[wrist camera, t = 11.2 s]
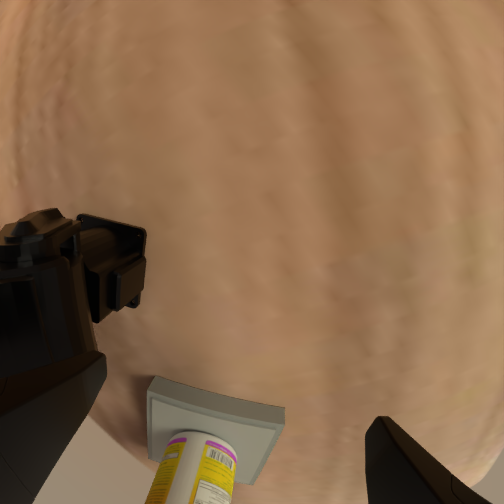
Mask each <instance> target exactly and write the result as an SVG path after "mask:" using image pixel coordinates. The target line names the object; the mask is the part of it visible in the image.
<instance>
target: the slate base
mask: <svg viewBox="0 0 504 504" xmlns="http://www.w3.org/2000/svg"><path fill="white" fill-rule="evenodd" d="M284 426H285V408H282V407H276V406H271V405H265V404H260V403H255V402H250V401H246V400H241V399H237V398H232V397H228V396H224V395H220V394H216V393H212V392H208V391H205V390H201V389H197V388H194V387H190V386H187V385H184V384H180V383H177V382H174V381H171V380H167V379H164V378H161V377H158V376H155V377H154V379H153V381H152V382H151V384H150V386H149V387H148V389H147V440H148V459H151V460H154V461H156V462H159V463H161V460H162V457H163V455H164V452H165V450H166V447H167V445H168V442H169V441H170V439H171V438H172V437H173V436H174V435H176V434H178V433H182V432H201V433H206V434H210V435H213V436H216V437H218V438H220V439H222V440H224V441H225V442H227V443H228V444H229V445H230V446H231V447H232V448H233V449H234V451H235V452H236V455H237V465H236V471H235V478H234V482H237V483H242V484H248V485H254V483H255V481H256V479H257V478H258V476H259V474H260V472H261V470H262V468H263V467H264V465H265V463H266V461H267V459H268V457H269V455H270V453H271V452H272V450H273V448H274V446H275V444H276V442H277V440H278V438H279V436H280V434H281V432H282V430H283V428H284Z"/></svg>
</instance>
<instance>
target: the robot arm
mask: <svg viewBox="0 0 504 504" xmlns="http://www.w3.org/2000/svg"><path fill="white" fill-rule="evenodd" d="M82 218H83V222H82V220H81V219H82ZM138 232H140V233H141V238H140V237H139V236H138ZM146 237H147V233H146V230H145V229H144V228H141V227H137V226H133V225H129V224H125V223H121V222H117V221H113V220H109V219H104V218H100V217H96V216H92V215H88V214H79V215H78V216H77V219H76V221H74V220H72V219H66V218H65V217H63V216H62V214H61V213H60V211H59V210H58V208H50V209H45V210H40V211H36V212H32V213H30V214H28V215H27V216H25V217H24V218H22V219H19V220H18V221H17V222H15V223H10V224H6V225H5V226H4V227H3V228H2V230H1V231H0V504H32V503H33V502H34V500H35V498H36V496H37V494H38V493H39V491H40V489H41V487H42V486H43V484H44V483H45V481H46V479H47V478H48V476H49V474H50V472H51V471H52V469H53V468H54V466H55V464H56V463H57V461H58V460H59V458H60V456H61V455H62V453H63V452H64V450H65V448H66V447H67V445H68V444H69V442H70V441H71V439H72V437H73V436H74V434H75V433H76V431H77V430H78V428H79V427H80V425H81V424H82V422H83V421H84V419H85V418H86V416H87V414H88V413H89V411H90V409H91V407H92V405H93V403H94V401H95V399H96V397H97V395H98V393H99V391H100V389H101V387H102V385H103V383H104V381H105V379H106V377H107V365H106V356H105V354H103V353H101V352H99V351H98V348H97V344H96V339H95V335H94V330H93V324H92V322H94V323H99V322H100V321H102V320H103V319H104V318H105V317H106V316H107V315H108V314H110V313H111V312H112V311H113V310H114V311H116V312H117V311H119V310H121V309H122V308H123V307H124V306H127V307H130V308H136V307H137V306H138V305H139V304H140V295H141V291H142V290H143V289H144V278H145V268H146V258H145V256H144V253H145V245H146ZM132 300H134V301H135V304H134V303H133V302H132ZM365 474H366V484H367V494H368V504H492V503H490V502H489V501H487V500H486V499H484V498H483V497H481V496H480V495H479V494H477V493H476V492H474V491H473V490H471V489H470V488H469V487H467V486H466V485H465V484H464V483H463V482H461V481H460V480H459V479H458V478H457V477H456V476H454V475H453V474H451V472H450V471H449V470H447V469H446V468H445V467H444V466H443V465H442V464H441V463H440V462H438V461H437V460H436V459H435V458H434V457H433V456H432V455H431V454H430V453H428V452H427V451H426V450H425V449H424V448H423V447H422V446H421V445H420V444H418V443H417V442H416V441H415V440H414V439H413V438H412V437H411V436H410V435H409V434H407V433H406V432H405V431H404V430H403V429H402V428H401V427H400V426H399V425H398V424H397V423H395V422H394V421H393V420H392V419H391V418H390V417H388V416H378V417H376V418H375V420H374V421H373V423H372V424H371V426H370V427H369V429H368V430H367V432H366V435H365Z"/></svg>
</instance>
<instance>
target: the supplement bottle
mask: <svg viewBox="0 0 504 504" xmlns="http://www.w3.org/2000/svg"><path fill="white" fill-rule="evenodd" d="M236 465H237V455H236V452H235V451H234V449H233V448H232V447H231V446H230V445H229V444H228V443H227V442H225V441H224V440H222V439H220V438H218V437H216V436H213V435H210V434H206V433H201V432H182V433H178V434H176V435H174V436H173V437H172V438H171V439H170V441H169V442H168V445H167V447H166V450H165V452H164V455H163V457H162V460H161V463H160V465H159V468H158V470H157V473H156V475H155V478H154V481H153V483H152V486H151V489H150V491H149V494H148V496H147V499H146V502H145V504H230V502H231V496H232V490H233V484H234V478H235V471H236Z"/></svg>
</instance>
